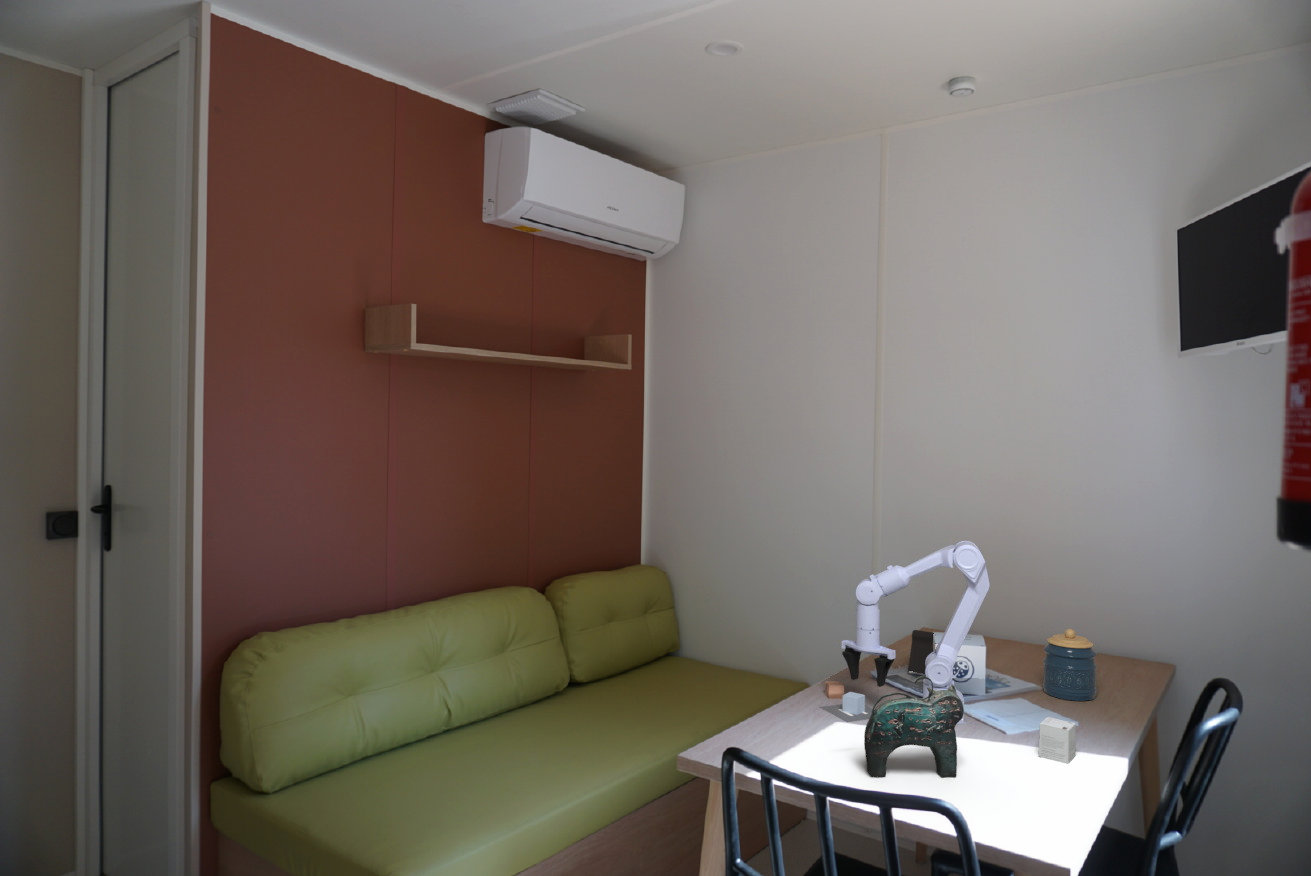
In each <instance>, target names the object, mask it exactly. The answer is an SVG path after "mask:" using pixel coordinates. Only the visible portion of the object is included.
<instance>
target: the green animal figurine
mask: <svg viewBox="0 0 1311 876" xmlns="http://www.w3.org/2000/svg"><path fill="white" fill-rule="evenodd" d="M922 679H928V680H929V681H930V682H931V684H932V689H931V688H928V687H927V690H928V691H929V696H928V697H925V698H923V697H922V698H921V697H918V696H917V697H916V696H913V695H908V694H906V693H903V692H891V693H886V694H884V695H881V696H880V697H878V698H877V699H876V700H875V702H874V704H873V707H872V714H871V716H870V718H869V719H868V721H867V722H866V725H865V729H864V736H863V739H864V742H863V743H864V751H865V760H866V770H867V773H868V774H869V776H870V777H871V778H876V779H877V778H878V779H879V778H886V777H887V763H888V758H889V757H890V755H891V754H892V753H893V752H894V751H895V750H897V749H899V748H901V747H904V746H917V747H918V746H919V747H926V748H929V749H930V751H931V752H932V755H933V758H934V763H935V770H936V773H937V774H938V776H939V777H940V778H943V779H944V778H957V768H958V758H957V757H958V756H957V755H958V754H957V753H958V743H957V742H958V741H957V736H956V733H957V732H956V730H955V727H956V726H957V725H958V724H957V723H958V722H959V721H960V720H961V719H962V717H963V714H964V715H965V707H964V708H963V703H962V701H961V699H960V698H959V696H958V695H957V693H956V689H957V688H956V686H955V685H954V686H953V685H951V686H950V688H949V689H948V690H938V691H935V690H933V683H932V681H931V679H929V678H928V677H925V676H918V677H917V678H915V680H914V682H913V683H914V684H917V682H918V681H919V680H922ZM955 688H956V689H955ZM895 695H896V696H899V695H900V696H904V697H900V698H895V699H887V700H886V701H884V702H882V703H880V704H878V703H879V702H880V701H881V700H883V699H884V698H886V697H887V698H888V697H892V696H895ZM927 698H928V699H927ZM876 706H877V707H876Z"/></svg>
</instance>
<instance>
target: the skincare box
mask: <svg viewBox="0 0 1311 876" xmlns="http://www.w3.org/2000/svg"><path fill="white" fill-rule="evenodd" d="M1038 731H1039V733H1038V734H1039V735H1038V736H1039V737H1038V756H1039V758H1043V759H1046V760H1049V761H1054V762H1055V761H1056V762H1059V763H1062V764H1066V765H1069V764H1070V763H1071V762H1072V760H1073V759H1074V758H1075V757H1076V751H1077V750H1076V748H1077V747H1076V745H1077V743H1076V741H1077V740H1076V739H1077V723H1076V722H1072V721H1067V720H1063V719H1057V718H1055V717H1051V716H1047V717H1046V718H1044V719H1043V720H1042V721H1041V722H1040V723H1039V729H1038Z"/></svg>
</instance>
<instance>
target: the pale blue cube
mask: <svg viewBox="0 0 1311 876" xmlns="http://www.w3.org/2000/svg"><path fill="white" fill-rule="evenodd" d="M842 704H843V712H847V713H851V714H855V715H858V714H860V713H862V712H864V711H865V705H866V695H865V694H861V693H857V692H853V691H849V692H847V693H844V695H843V699H842Z"/></svg>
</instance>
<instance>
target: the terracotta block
mask: <svg viewBox="0 0 1311 876" xmlns="http://www.w3.org/2000/svg"><path fill="white" fill-rule="evenodd" d="M844 694H845V685H844V684H843V683H842V682H841V681H824V695H825V696H826V697H827V698H828V699H829V700H830V699H831V700H834V699H835V700H837V699H840V700H841V699H842V700H843V695H844Z"/></svg>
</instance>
